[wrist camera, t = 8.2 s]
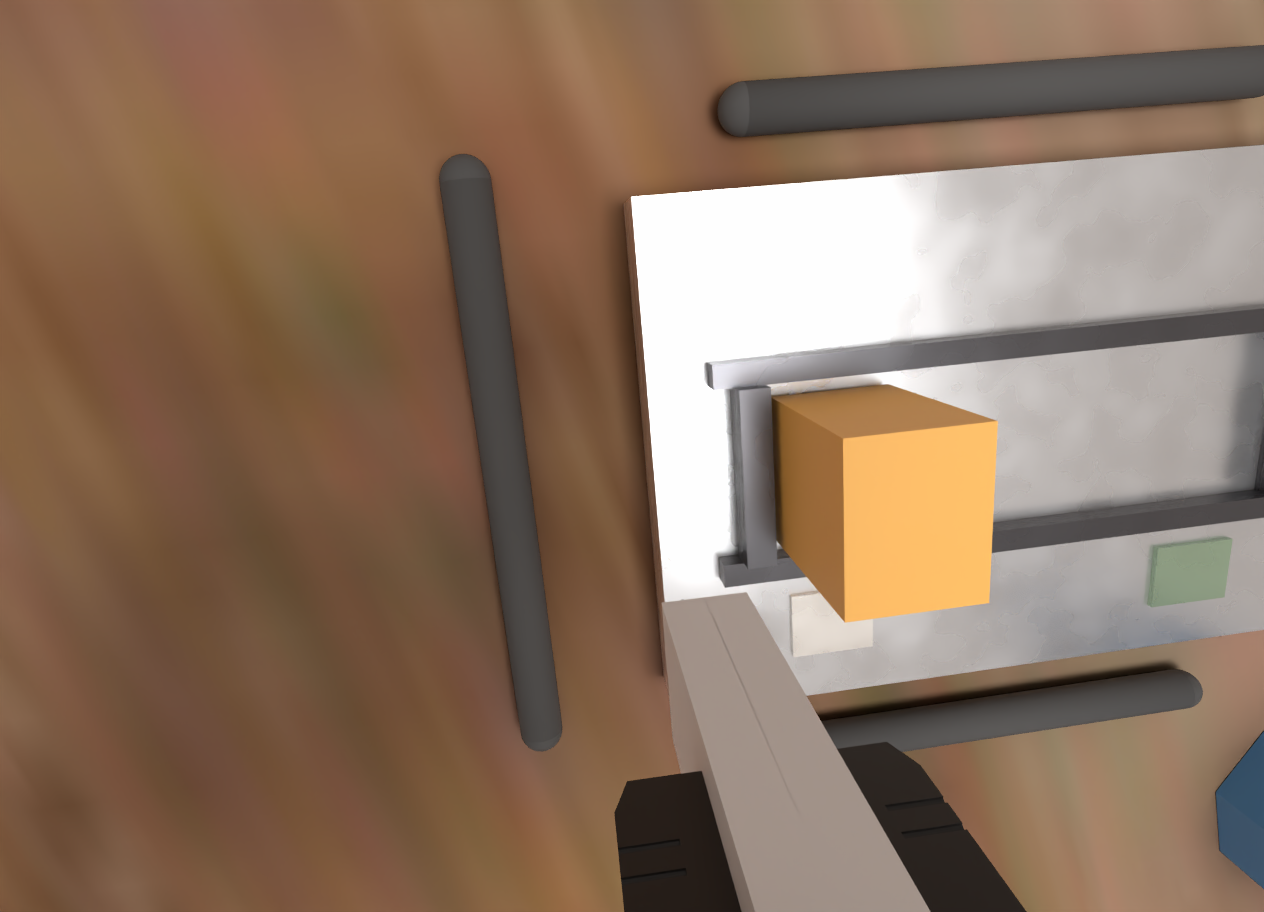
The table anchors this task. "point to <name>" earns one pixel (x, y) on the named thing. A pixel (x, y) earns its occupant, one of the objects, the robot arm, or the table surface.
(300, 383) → the table surface
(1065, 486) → the panel
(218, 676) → the table surface
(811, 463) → the matte orange cube
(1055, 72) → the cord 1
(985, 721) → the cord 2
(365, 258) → the table surface
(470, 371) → the rounded gray dowel
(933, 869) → the robot arm
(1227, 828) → the water bottle
